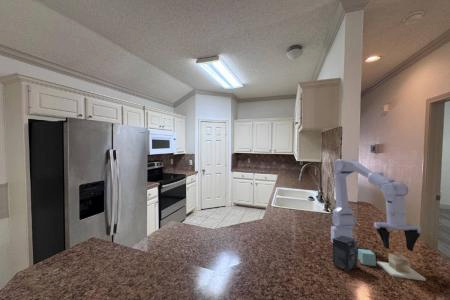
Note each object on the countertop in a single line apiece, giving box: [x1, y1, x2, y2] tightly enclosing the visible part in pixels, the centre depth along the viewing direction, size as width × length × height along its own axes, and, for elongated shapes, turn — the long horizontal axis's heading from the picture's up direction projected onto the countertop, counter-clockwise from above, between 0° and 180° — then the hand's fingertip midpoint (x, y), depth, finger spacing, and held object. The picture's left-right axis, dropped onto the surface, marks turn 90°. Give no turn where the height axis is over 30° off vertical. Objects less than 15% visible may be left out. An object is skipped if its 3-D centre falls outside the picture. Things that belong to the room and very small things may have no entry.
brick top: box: [357, 248, 377, 267], centre depth 80 cm, size 4×4×4 cm
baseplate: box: [376, 261, 426, 282], centre depth 73 cm, size 10×10×1 cm
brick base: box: [387, 253, 411, 273], centre depth 73 cm, size 4×4×4 cm
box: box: [332, 235, 358, 272], centre depth 76 cm, size 8×6×11 cm
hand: (397, 248), depth 74 cm, fingers open, 7 cm apart
